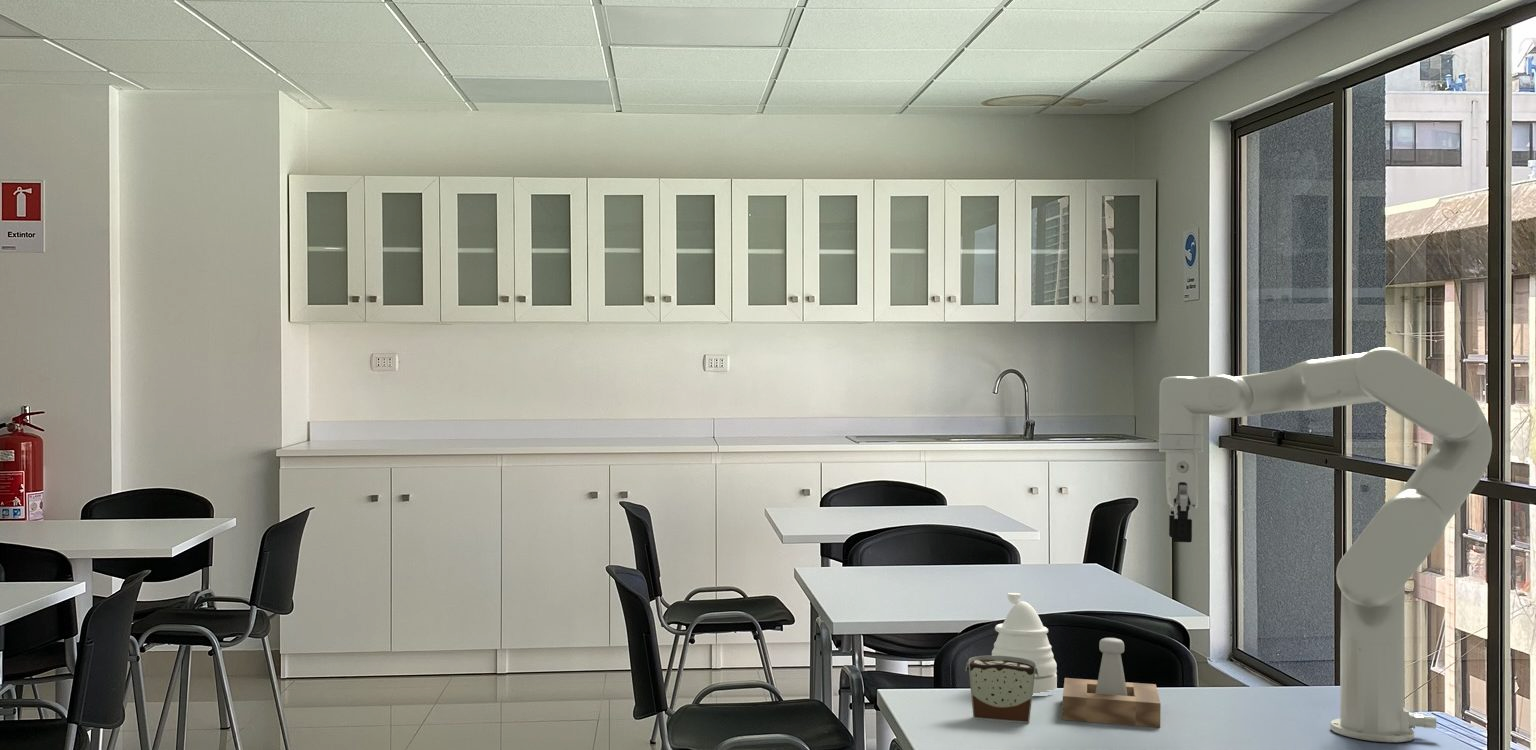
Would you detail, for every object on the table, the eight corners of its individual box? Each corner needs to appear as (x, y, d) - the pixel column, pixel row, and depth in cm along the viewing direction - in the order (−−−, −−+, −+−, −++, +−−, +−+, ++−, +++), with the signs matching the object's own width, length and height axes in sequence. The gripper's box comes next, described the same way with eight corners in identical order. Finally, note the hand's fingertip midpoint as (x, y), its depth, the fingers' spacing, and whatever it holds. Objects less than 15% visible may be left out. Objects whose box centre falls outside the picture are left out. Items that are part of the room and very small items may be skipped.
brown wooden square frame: (1155, 706, 221) (1155, 684, 221) (1160, 727, 205) (1160, 703, 205) (1064, 699, 225) (1064, 677, 225) (1062, 719, 209) (1062, 695, 209)
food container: (1040, 716, 212) (1040, 657, 212) (1038, 724, 206) (1038, 664, 206) (968, 710, 215) (969, 652, 215) (964, 718, 209) (965, 659, 210)
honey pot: (975, 689, 232) (976, 594, 233) (1008, 679, 242) (1009, 588, 243) (1036, 700, 224) (1038, 601, 225) (1068, 689, 234) (1069, 595, 235)
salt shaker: (1129, 718, 211) (1129, 642, 212) (1094, 715, 213) (1095, 640, 213) (1127, 710, 217) (1127, 637, 217) (1093, 708, 218) (1094, 635, 219)
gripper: (1207, 445, 212) (1206, 544, 211) (1198, 444, 228) (1198, 536, 228) (1161, 444, 214) (1161, 542, 213) (1156, 443, 230) (1156, 534, 230)
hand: (1180, 539), depth 220 cm, fingers open, 9 cm apart
